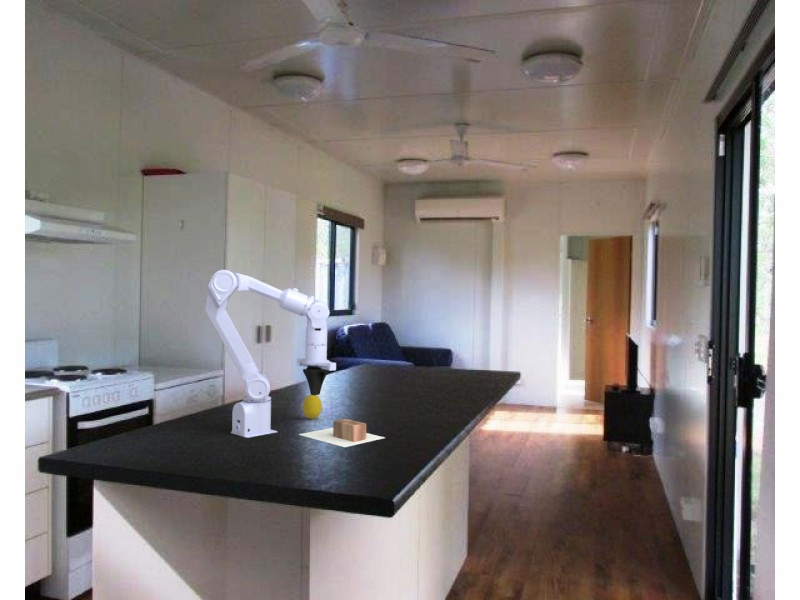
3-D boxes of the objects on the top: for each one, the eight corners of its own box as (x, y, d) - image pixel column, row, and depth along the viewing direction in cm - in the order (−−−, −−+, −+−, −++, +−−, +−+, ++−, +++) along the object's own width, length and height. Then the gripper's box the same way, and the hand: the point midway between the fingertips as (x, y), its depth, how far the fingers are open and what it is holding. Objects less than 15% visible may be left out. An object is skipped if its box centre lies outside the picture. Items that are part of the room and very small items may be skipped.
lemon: (323, 419, 172) (323, 392, 172) (318, 422, 166) (319, 395, 166) (305, 418, 172) (305, 391, 172) (300, 422, 167) (300, 394, 167)
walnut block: (333, 436, 148) (354, 442, 142) (333, 421, 148) (354, 426, 142) (344, 434, 151) (366, 439, 145) (345, 418, 151) (366, 423, 145)
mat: (344, 449, 137) (344, 447, 137) (298, 436, 149) (298, 434, 149) (385, 439, 148) (385, 437, 148) (338, 428, 160) (338, 426, 160)
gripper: (345, 345, 154) (344, 396, 154) (311, 342, 164) (310, 390, 164) (324, 346, 149) (323, 399, 148) (291, 343, 158) (289, 392, 158)
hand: (315, 394), depth 156 cm, fingers closed
